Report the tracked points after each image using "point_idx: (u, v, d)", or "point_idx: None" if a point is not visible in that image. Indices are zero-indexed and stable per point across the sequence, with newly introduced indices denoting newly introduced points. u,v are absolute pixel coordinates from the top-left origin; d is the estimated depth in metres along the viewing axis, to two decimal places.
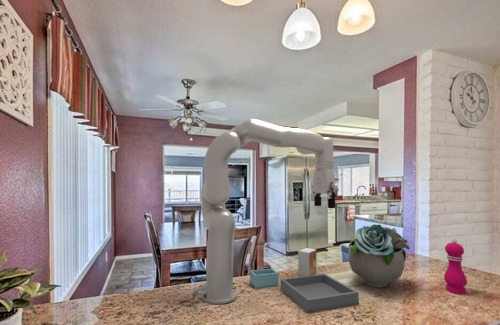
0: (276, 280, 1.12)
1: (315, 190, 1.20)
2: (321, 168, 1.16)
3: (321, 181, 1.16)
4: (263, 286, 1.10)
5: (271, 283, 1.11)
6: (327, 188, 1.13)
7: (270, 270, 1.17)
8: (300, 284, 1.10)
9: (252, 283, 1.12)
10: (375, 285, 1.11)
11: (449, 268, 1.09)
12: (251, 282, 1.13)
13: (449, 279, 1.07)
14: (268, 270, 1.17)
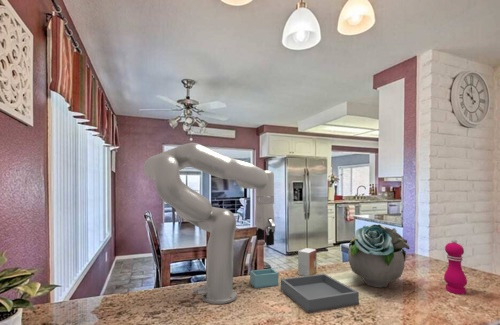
0: (276, 280, 1.12)
1: (256, 224, 1.16)
2: (260, 203, 1.12)
3: (260, 216, 1.12)
4: (263, 286, 1.10)
5: (271, 283, 1.11)
6: (265, 224, 1.10)
7: (270, 270, 1.17)
8: (300, 284, 1.10)
9: (252, 283, 1.12)
10: (375, 285, 1.11)
11: (449, 268, 1.09)
12: (251, 282, 1.13)
13: (449, 279, 1.07)
14: (268, 270, 1.17)
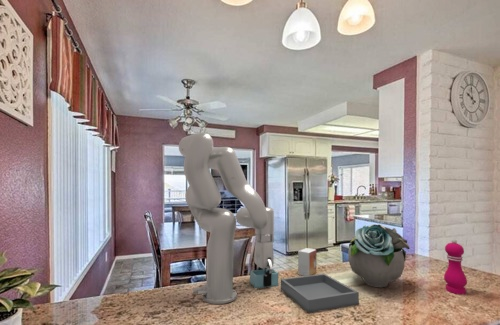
0: (276, 280, 1.12)
1: (255, 262, 1.15)
2: (259, 241, 1.11)
3: (259, 255, 1.11)
4: (263, 286, 1.10)
5: (271, 283, 1.11)
6: (264, 264, 1.09)
7: None
8: (300, 284, 1.10)
9: (252, 283, 1.12)
10: (375, 285, 1.11)
11: (449, 268, 1.09)
12: (251, 282, 1.13)
13: (449, 279, 1.07)
14: None
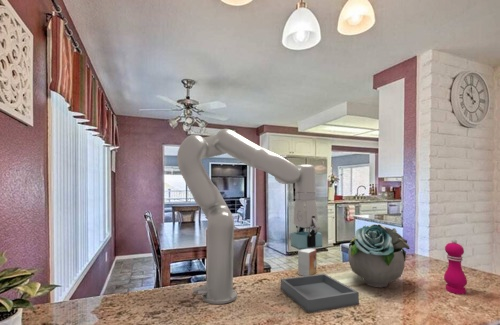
0: (320, 241, 1.05)
1: (296, 223, 1.07)
2: (302, 200, 1.04)
3: (302, 214, 1.04)
4: (307, 247, 1.02)
5: None
6: (308, 223, 1.01)
7: None
8: (300, 284, 1.10)
9: (294, 245, 1.04)
10: (375, 285, 1.11)
11: (449, 268, 1.09)
12: (293, 244, 1.05)
13: (449, 279, 1.07)
14: None
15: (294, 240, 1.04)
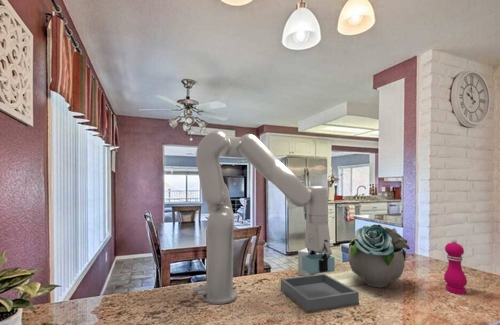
0: (332, 265, 1.02)
1: (307, 246, 1.05)
2: (314, 223, 1.01)
3: (314, 238, 1.01)
4: (319, 272, 0.99)
5: None
6: (321, 247, 0.98)
7: None
8: (300, 284, 1.10)
9: (306, 269, 1.01)
10: (375, 285, 1.11)
11: (449, 268, 1.09)
12: (304, 268, 1.02)
13: (449, 279, 1.07)
14: None
15: (305, 264, 1.02)
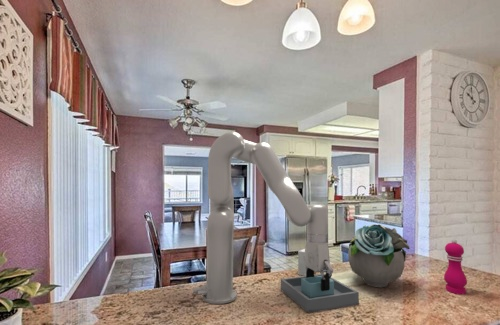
0: (331, 289, 1.01)
1: (307, 264, 1.04)
2: (313, 242, 1.00)
3: (313, 257, 1.00)
4: (318, 296, 0.99)
5: (326, 292, 1.00)
6: (320, 267, 0.98)
7: None
8: (300, 284, 1.10)
9: (305, 292, 1.01)
10: (375, 285, 1.11)
11: (449, 268, 1.09)
12: (303, 291, 1.02)
13: (449, 279, 1.07)
14: (320, 277, 1.06)
15: (305, 287, 1.01)
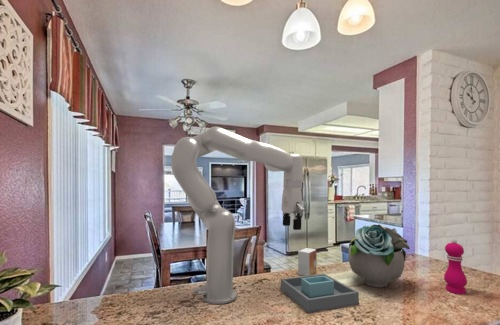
0: (331, 289, 1.01)
1: (283, 209, 1.14)
2: (288, 187, 1.10)
3: (288, 200, 1.10)
4: (318, 296, 0.99)
5: (326, 292, 1.00)
6: (293, 208, 1.07)
7: (322, 277, 1.06)
8: (300, 284, 1.10)
9: (305, 292, 1.01)
10: (375, 285, 1.11)
11: (449, 268, 1.09)
12: (303, 291, 1.02)
13: (449, 279, 1.07)
14: (320, 277, 1.06)
15: (305, 287, 1.01)
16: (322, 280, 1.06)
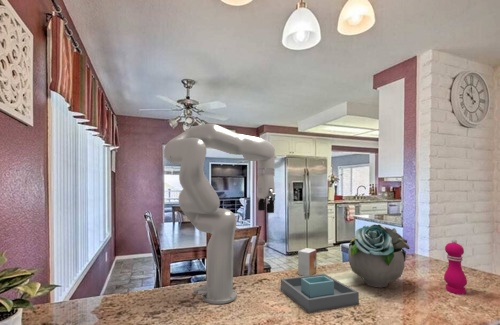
0: (331, 289, 1.01)
1: (258, 195, 1.26)
2: (262, 174, 1.22)
3: (261, 187, 1.22)
4: (318, 296, 0.99)
5: (326, 292, 1.00)
6: (266, 194, 1.19)
7: (322, 277, 1.06)
8: (300, 284, 1.10)
9: (305, 292, 1.01)
10: (375, 285, 1.11)
11: (449, 268, 1.09)
12: (303, 291, 1.02)
13: (449, 279, 1.07)
14: (320, 277, 1.06)
15: (305, 287, 1.01)
16: (322, 280, 1.06)
